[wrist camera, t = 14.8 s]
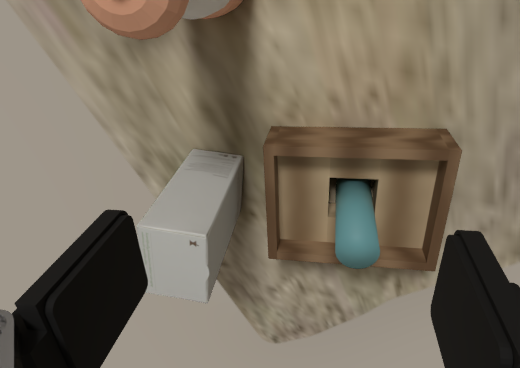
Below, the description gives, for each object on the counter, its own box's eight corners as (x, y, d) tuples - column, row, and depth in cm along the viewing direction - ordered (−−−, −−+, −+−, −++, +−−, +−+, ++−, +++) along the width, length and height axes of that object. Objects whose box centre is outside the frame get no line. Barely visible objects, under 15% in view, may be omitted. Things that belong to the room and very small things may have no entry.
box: (446, 128, 39) (462, 150, 34) (424, 240, 45) (435, 271, 40) (271, 126, 42) (263, 146, 37) (275, 230, 48) (268, 258, 44)
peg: (371, 171, 42) (382, 235, 32) (368, 200, 44) (377, 270, 34) (336, 170, 43) (336, 232, 33) (335, 198, 45) (334, 266, 34)
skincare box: (193, 146, 45) (131, 220, 31) (248, 154, 44) (209, 234, 30) (193, 205, 49) (139, 294, 35) (243, 214, 48) (208, 307, 35)
